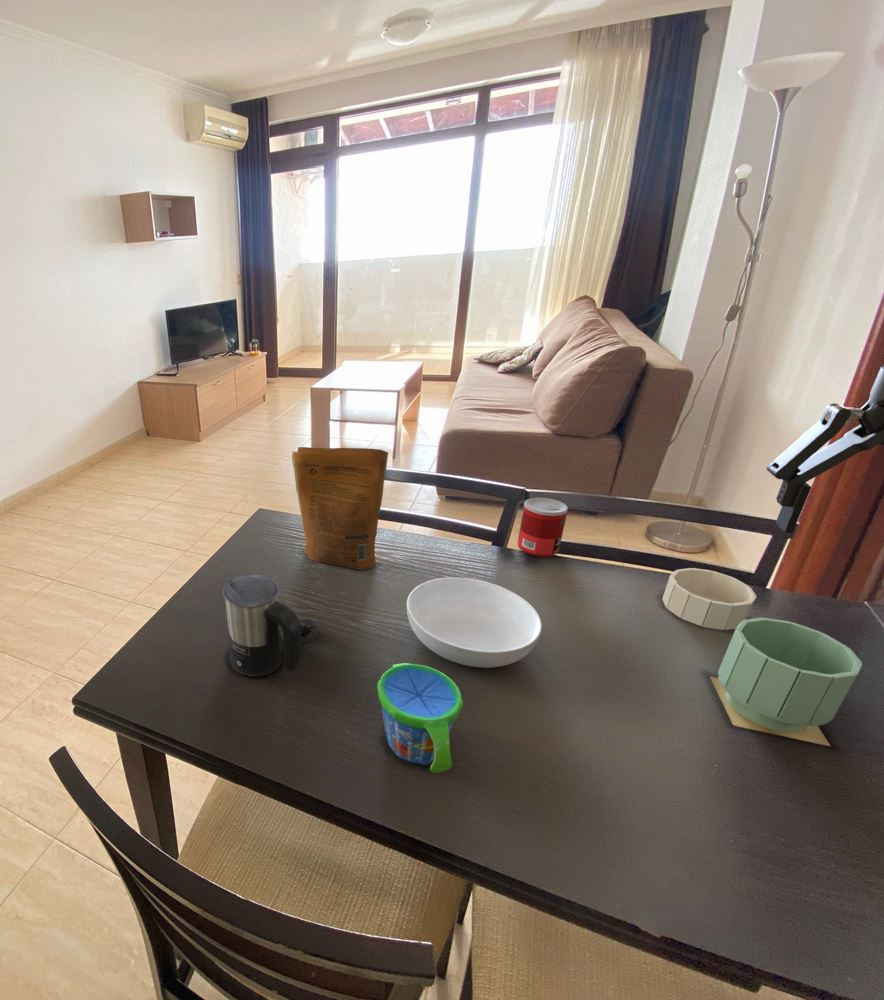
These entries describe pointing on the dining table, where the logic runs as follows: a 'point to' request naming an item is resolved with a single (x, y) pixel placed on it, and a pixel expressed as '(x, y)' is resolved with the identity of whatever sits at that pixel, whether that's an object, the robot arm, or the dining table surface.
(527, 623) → the serving bowl
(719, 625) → the cream bowl
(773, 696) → the green bowl
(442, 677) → the snack cup
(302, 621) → the milk frother
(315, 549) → the pancake mix bag
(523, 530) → the canned food
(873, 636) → the dining table surface
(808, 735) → the placemat
